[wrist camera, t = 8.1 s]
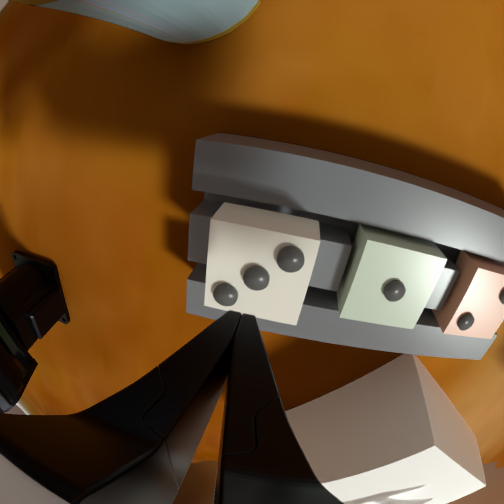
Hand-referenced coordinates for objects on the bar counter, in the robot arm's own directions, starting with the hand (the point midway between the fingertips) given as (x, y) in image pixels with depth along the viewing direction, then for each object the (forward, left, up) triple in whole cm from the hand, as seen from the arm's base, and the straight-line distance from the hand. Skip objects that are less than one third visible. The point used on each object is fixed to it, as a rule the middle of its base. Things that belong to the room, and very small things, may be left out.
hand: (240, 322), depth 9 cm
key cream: (0, 0, -5) cm, 5 cm away
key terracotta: (+12, 0, -6) cm, 13 cm away
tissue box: (+18, -20, -9) cm, 28 cm away
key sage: (+6, 0, -6) cm, 8 cm away
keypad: (+6, 0, -8) cm, 10 cm away
